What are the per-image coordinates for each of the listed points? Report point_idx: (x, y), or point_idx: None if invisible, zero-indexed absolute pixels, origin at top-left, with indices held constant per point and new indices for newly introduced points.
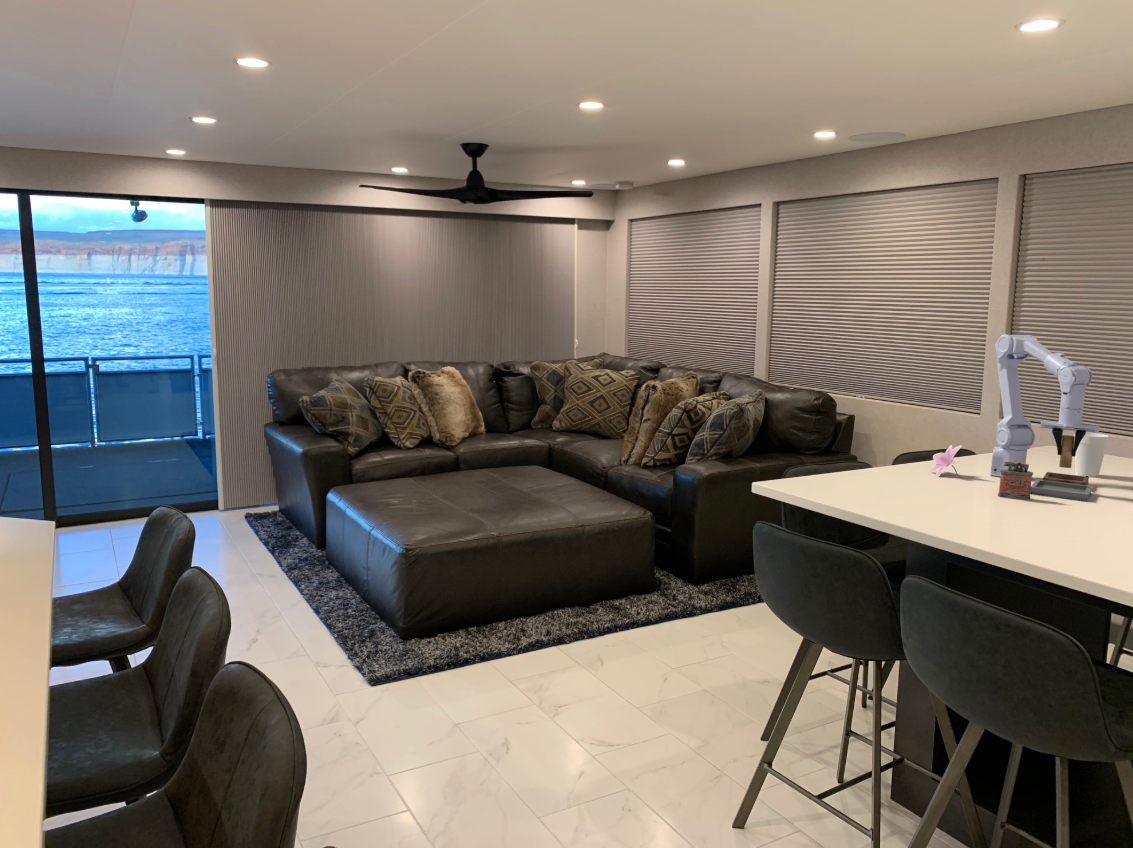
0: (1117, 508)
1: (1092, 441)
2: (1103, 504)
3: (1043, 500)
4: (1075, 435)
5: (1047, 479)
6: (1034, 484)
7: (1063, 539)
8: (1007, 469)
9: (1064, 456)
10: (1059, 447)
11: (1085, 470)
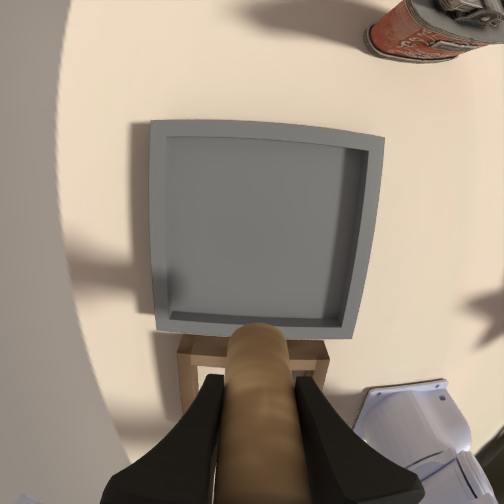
0: (73, 82)
1: None
2: (108, 116)
3: (318, 38)
4: (191, 491)
5: (313, 356)
6: (370, 214)
7: None
8: (501, 40)
9: (270, 366)
10: (316, 408)
11: (212, 500)
